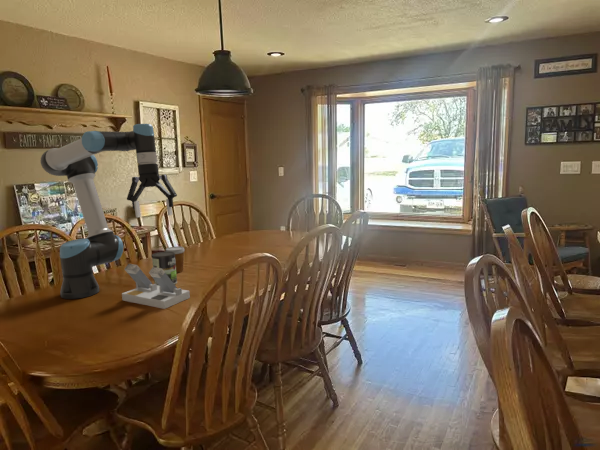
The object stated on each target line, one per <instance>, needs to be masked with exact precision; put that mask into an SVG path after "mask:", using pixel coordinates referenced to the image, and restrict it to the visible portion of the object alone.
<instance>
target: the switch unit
mask: <svg viewBox="0 0 600 450" xmlns="http://www.w3.org/2000/svg"><path fill="white" fill-rule="evenodd" d="M152 284H153V285H150V287H151V288H149V289H146V288H141V287H139V286H138V284H137V283H136V282H135V288H133V289H130V290H128V291H125V292H122V293H121V297H122V298H121V299H122V301H125V302H128V303H135V304H138V305H144V306H149V307H154V308H158V309H163V310H165V309H167V308H170V307H173V306H174V305H176V304H179V303H181V302H183V301H187V300H188V299H190V298H191V296H190V295H191V294H190V290H187V289H182V288H181V287H179V288H177V289H175V293H169V292H164V291H163V290H162V288H161V287H160V286H158V285H157V284H154V283H152Z"/></svg>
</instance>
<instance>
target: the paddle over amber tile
mask: <svg viewBox="0 0 600 450" xmlns="http://www.w3.org/2000/svg"><path fill="white" fill-rule="evenodd" d="M124 271H125V272H126V273H127V274H128V275H129V276H130V278H131V279H132V280H133V281H134V282H135V284H136V283H137V284H138V286H139V287H141V288H146V289H149V288H151V287H150V285H153V284H154V283H153V282H152V281H151V280H150V279H149V278H148V276H147V275H146V274H145V273H144V272H143V270H142V269H141V267H139V265H138V264H132V263H127V265H126V266H125V267H124Z"/></svg>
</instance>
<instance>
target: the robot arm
mask: <svg viewBox="0 0 600 450" xmlns="http://www.w3.org/2000/svg"><path fill="white" fill-rule="evenodd" d="M155 138H156V137H155V132H154V127H153V125H152V124H151V123H136V124H134V125H133V126H132V130H131V131H101V130H91V131H89V130H88V131H85V132H84V133H83V135H82V136H81V138H79V139H77V140H74V141H73V142H70V143H67V144H66V145H63V146H60V147H59V148H58V147H53V148H50V149H48V150H46V151H44V152H43V153H42V154H41V157H40V166H41V168H42V169H43V170H44V171H45V172H46V173H47V174H49V175H51V176H52V175H53V176H55V177H56V176H57V177H65V176H66V177H67V181H68V183H69V182H70V183H71V184H72V185H73V187H74V191H75V194H76V197H77V201H78V204H79V206H80V210H81V214H82V216H83V221H84V222H85V223H84V224H85V226H86V230H87V232H88V235H87V236H86V238H85V237H84V238H78V239H73V240H68V241H65V242H63V244H61V245H60V246H59V257H60V263H61V272H62V278H63V279H62V283H61V287H60V298H62V299H63V300H64V299H66V300H75V299H82V298H87V297H90V296H94V295H97V294H98V293H99V292H100V285H99V284H98V281H97V280H96V278H95V276H94V271H93V267H98V266H101V265H104V264H108V263H112V262H115V261H118V260H120V258H121V257H122V256H123V253H124V243H123V241H122V238H121V237H120V236H119V235H115V233H114V230H112V229H110V228H109V226H108V222H107V220H106V219H107V218H106V216H105V213H104V209H103V207H102V204H101V199H100V196H99V194H98V190H97V188H96V185H95V180H94V179H95V177H96V173H97V171H98V168H99V167H98V165H99V164H98V160H97V157H96V156H95V155H97V154H99V153H102V152H130V151H136V160H137V163H138V165H137V169H138V176H132V177H131V185H130V187H129V190H128V194H127V197H126V200H127V201H131V206H132V209H133V210H134V211H135V213H134V214H135V218H141V217H142V215H141V214H142V213H141V208H140V201H139V200H138V199H140V196H141V194H142V193H143V191H144V190H145V189H146V188H151V187H155V188H157V190H158V191H160V192H161V193H162V195H164V196H165V198H166V199H165V202H166V203H165V204H166V210H167V216H168V217H169V216H172V215H173V207H174V199H175V198H176V197H177V196H178V194H177V192H176V191H175V189H174V187H173V186H172V185H171V182H170V181H169V180H168V176H167V174H159V172H160V171H159V164H158V163H157V162H158V156H157V150H156V148H157V147H156V140H155ZM160 180H161V181H162V182H163V184H164V185H162V183H161V182H160ZM139 182H140V184H139V185H138V183H139ZM137 186H138V187H137ZM164 186H165V187H166V188H165V187H164ZM136 189H137V190H136Z"/></svg>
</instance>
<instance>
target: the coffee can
mask: <svg viewBox="0 0 600 450" xmlns="http://www.w3.org/2000/svg"><path fill="white" fill-rule="evenodd" d="M151 260H152V261H151V262H152V268H153V267H155V268H162V269H163V270H164V272H165V273H166V274H167V276H168V277H169V278H170V279H171V281H172V282H173V283H174V285H176V284H178V275H177V273H176V262H175V252H169V251H168V252H165V251H159V252H154V253H152V254H151ZM153 284H157V282H156V281H155V280H154V279H153ZM157 285H158V284H157ZM158 286H159V285H158Z"/></svg>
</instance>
